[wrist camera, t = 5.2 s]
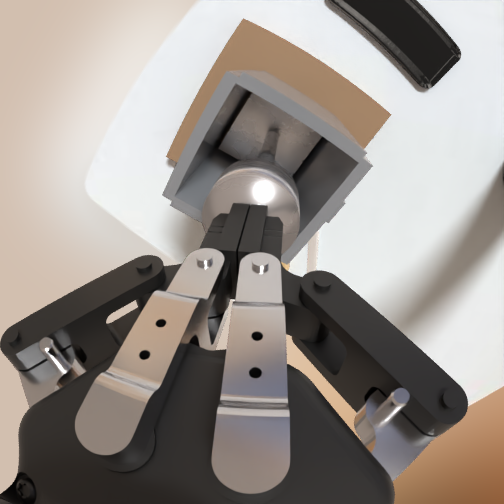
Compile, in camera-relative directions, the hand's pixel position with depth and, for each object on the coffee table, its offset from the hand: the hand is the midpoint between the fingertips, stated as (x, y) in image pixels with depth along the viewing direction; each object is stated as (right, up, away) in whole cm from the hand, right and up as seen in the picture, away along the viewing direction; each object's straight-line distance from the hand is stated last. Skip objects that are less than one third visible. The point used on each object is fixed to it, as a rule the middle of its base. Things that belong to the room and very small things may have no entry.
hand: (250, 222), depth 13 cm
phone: (+16, +23, +7) cm, 29 cm away
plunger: (+2, +10, +13) cm, 17 cm away
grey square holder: (+3, +12, +17) cm, 21 cm away
